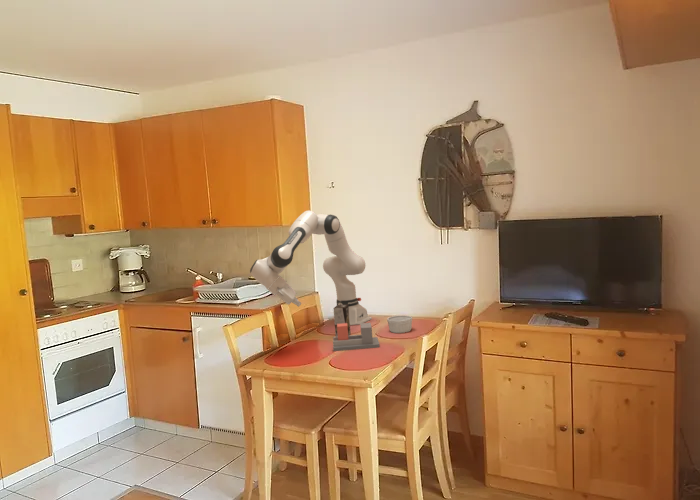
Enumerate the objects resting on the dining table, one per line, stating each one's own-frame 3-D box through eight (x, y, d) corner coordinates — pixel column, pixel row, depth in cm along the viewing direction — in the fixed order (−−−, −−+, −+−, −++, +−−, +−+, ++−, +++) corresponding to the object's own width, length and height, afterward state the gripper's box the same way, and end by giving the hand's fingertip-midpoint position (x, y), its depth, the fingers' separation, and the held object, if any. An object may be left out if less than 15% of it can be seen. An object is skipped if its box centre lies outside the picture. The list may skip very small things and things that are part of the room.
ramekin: (409, 334, 284) (409, 320, 283) (385, 333, 288) (384, 320, 288) (415, 327, 296) (414, 315, 296) (391, 327, 301) (390, 315, 300)
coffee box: (347, 338, 284) (345, 307, 283) (335, 338, 286) (332, 308, 284) (351, 334, 293) (348, 304, 292) (339, 334, 295) (336, 304, 293)
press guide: (333, 351, 262) (331, 331, 261) (333, 343, 276) (332, 324, 275) (379, 347, 263) (378, 327, 262) (377, 340, 277) (376, 321, 276)
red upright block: (338, 345, 266) (337, 326, 265) (338, 341, 272) (337, 323, 271) (348, 344, 266) (347, 325, 265) (348, 341, 272) (347, 323, 271)
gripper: (280, 284, 255) (303, 304, 256) (284, 278, 276) (305, 296, 277) (271, 294, 256) (294, 314, 257) (276, 288, 276) (297, 306, 277)
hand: (300, 305), depth 267 cm, fingers closed
